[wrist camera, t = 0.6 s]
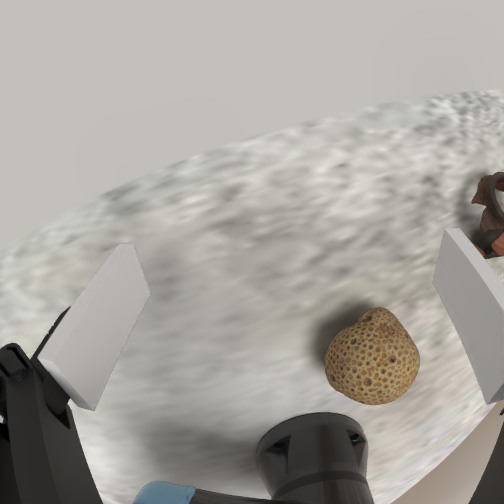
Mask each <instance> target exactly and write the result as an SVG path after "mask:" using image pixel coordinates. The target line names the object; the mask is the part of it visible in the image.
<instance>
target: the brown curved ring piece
mask: <svg viewBox="0 0 504 504" xmlns="http://www.w3.org/2000/svg"><path fill="white" fill-rule="evenodd" d="M495 188H496V189H498V190H500V191H503V192H504V172H497V173H495V174H494V175H489V176H485V177H483V178H481V181H480V182H479V184H478V189H477V193H476V195H475V196H474V198H473V199H472V202H471V203H472V204H474V203H478V204H481V205H485V206H487V207H486V208H485V209H484V211H483V215H482V221H481V223H480V227H481V230H482V232H483V233H485V232H486V231H488V230H503V231H502V233H501V234H500V235H499V237H498V238H496V239H495V240H494V241H493V244H492V250H491V251H490V252H484V251H483V250H481V249H480V248H479V247H478V246H477V245H475V244H473V245H474V246H475V248H476V249H477V250H478V251H479V252H480V254H481V255H482V256H483V258H484V259H490V258H493V257H501V256H504V213H503V211H502V210H501V208H500V206H499V204H498V202H497V199H496V195H495Z"/></svg>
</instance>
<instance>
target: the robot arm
mask: <svg viewBox="0 0 504 504" xmlns="http://www.w3.org/2000/svg"><path fill="white" fill-rule="evenodd" d="M432 283H433V284H434V286H435V288H436V290H437V292H438V294H439V296H440V298H441V300H442V302H443V304H444V306H445V308H446V310H447V312H448V314H449V316H450V318H451V320H452V322H453V324H454V326H455V328H456V330H457V333H458V335H459V337H460V339H461V341H462V344H463V346H464V348H465V351H466V353H467V355H468V358H469V360H470V362H471V365H472V367H473V370H474V372H475V375H476V377H477V380H478V383H479V385H480V388H481V391H482V393H483V396H484V399H485V402H486V405H488V404H491V403H494V402H497V401H500V400H503V399H504V284H503V283H502V281H501V280H500V279H499V277H498V276H497V274H496V273H495V272H494V270H493V269H492V268H491V267H490V265H489V264H488V263H487V261H486V260H485V259H484V258H483V256H482V255H481V254H480V252H479V251H478V250H477V249H476V248H475V246H474V245H473V244H472V243H471V242H470V240H469V239H468V238H467V237H466V236H465V234H464V233H463V232H462V231H461V230H460V229H459V228H444V233H443V238H442V243H441V247H440V252H439V256H438V261H437V265H436V269H435V273H434V277H433V281H432ZM150 293H151V292H150V290H149V287H148V284H147V282H146V279H145V276H144V273H143V271H142V268H141V265H140V262H139V259H138V256H137V253H136V250H135V248H134V245H133V243H129V244H118V246H117V247H116V248H115V249H114V251H113V252H112V253H111V254H110V256H109V257H108V258H107V259H106V261H105V262H104V263H103V264H102V266H101V267H100V268H99V270H98V271H97V272H96V274H95V275H94V276H93V277H92V279H91V280H90V281H89V283H88V284H87V285H86V287H85V288H84V289H83V291H82V292H81V294H80V295H79V296H78V298H77V299H76V300H75V302H74V303H73V305H72V306H70V307H69V308H67V309H66V310H65V311H64V312H63V313H62V314H60V316H59V317H58V319H57V320H56V322H55V323H54V326H52V327H51V329H50V330H49V334H47V335H46V336H45V338H44V339H43V341H42V342H41V344H40V345H39V347H38V348H37V350H36V352H35V353H34V355H33V356H32V358H31V359H29V358H28V357H27V355H26V354H25V353H24V351H23V350H22V348H21V347H20V346H19V345H18V344H17V343H10V344H7V345H5V346H4V347H2V348H1V349H0V415H1V416H2V417H3V423H0V504H103V502H102V500H101V498H100V495H99V493H98V490H97V488H96V485H95V483H94V480H93V478H92V475H91V472H90V470H89V467H88V464H87V461H86V458H85V455H84V452H83V449H82V446H81V443H80V440H79V436H78V433H77V429H76V426H75V422H74V419H73V415H72V411H71V409H70V407H69V405H68V404H67V403H68V401H69V399H70V398H71V399H72V400H73V402H74V403H75V404H76V405H77V406H78V407H81V408H84V409H88V410H92V411H95V408H96V406H97V404H98V401H99V399H100V397H101V395H102V392H103V390H104V388H105V386H106V383H107V381H108V379H109V377H110V375H111V372H112V370H113V368H114V366H115V364H116V362H117V360H118V357H119V355H120V353H121V351H122V349H123V347H124V345H125V343H126V341H127V339H128V337H129V335H130V333H131V331H132V329H133V327H134V325H135V323H136V321H137V319H138V317H139V315H140V313H141V311H142V309H143V307H144V305H145V303H146V301H147V299H148V297H149V295H150ZM503 413H504V408H503V409H502V411H501V413H500V415H503ZM367 459H368V442H367V439H366V436H365V434H364V431H363V429H362V427H361V426H360V425H359V424H358V423H357V422H356V421H355V420H353V419H351V418H349V417H347V416H344V415H340V414H334V413H315V414H308V415H303V416H299V417H296V418H293V419H290V420H288V421H285V422H283V423H281V424H280V425H278V426H276V427H275V428H273V429H272V430H270V431H269V432H268V433H267V434H266V435H265V436H264V437H263V438H262V440H261V441H260V443H259V445H258V448H257V468H258V471H259V474H260V476H261V478H262V480H263V482H264V484H265V486H266V488H267V490H268V492H269V494H270V496H271V500H267V499H257V498H249V497H241V496H234V495H228V494H222V493H216V492H211V491H206V490H201V489H196V487H195V486H188V487H186V486H181V485H176V484H171V483H167V482H162V481H154V482H150V483H148V484H146V485H145V486H144V487H143V488H142V489H141V490H140V492H139V493H138V495H137V497H136V498H135V500H134V502H133V504H374V501H373V498H372V495H371V492H370V489H369V486H368V483H367V480H366V472H367ZM469 504H504V422H503V425H502V428H501V431H500V434H499V437H498V439H497V442H496V445H495V447H494V450H493V452H492V455H491V457H490V460H489V462H488V464H487V467H486V469H485V471H484V473H483V476H482V478H481V480H480V482H479V484H478V486H477V488H476V490H475V492H474V494H473V496H472V498H471V500H470V502H469Z"/></svg>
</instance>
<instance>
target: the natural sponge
mask: <svg viewBox="0 0 504 504" xmlns="http://www.w3.org/2000/svg"><path fill="white" fill-rule="evenodd" d="M419 366H420V356H419V352H418V349H417V347H416V345H415V344H414V342H413V340H412V339H411V337H410V336H409V334H408V333H407V331H406V330H405V329H404V327H403V326H402V325H401V323H400V322H399V321H398V319H397V318H396V316H395V315H394V314H393V313H391V312H390V311H389V310H387V309H385V308H381V307H379V308H374V309H371V310H369V311H367V312H365V313H364V314H363V315H362V316H361V317H360V318H359V320H358V321H357V322H356V323H355V324H354V325H352V326H349V327H347V328H345V329H343V330H342V331H340V332H339V333H338V334H337V335H336V336H335V337H334V338H333V339H332V341H331V343H330V345H329V347H328V349H327V352H326V355H325V372H326V376H327V379H328V381H329V383H330V386H332V387H333V388H334V389H335V390H336V391H338V392H341V393H343V394H344V395H346V396H347V397H349V398H351V399H353V400H355V401H357V402H360V403H363V404H368V405H380V404H386V403H389V402H392V401H394V400H396V399H397V398H399V397H400V396H402V395H403V394H404V393H405V392H406V391H407V390H408V389H409V387H410V386H411V384H412V383H413V382H414V380H415V378H416V376H417V373H418V370H419Z"/></svg>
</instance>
